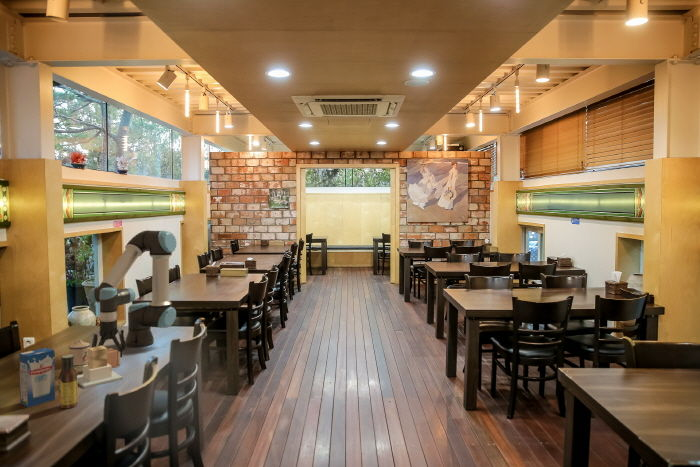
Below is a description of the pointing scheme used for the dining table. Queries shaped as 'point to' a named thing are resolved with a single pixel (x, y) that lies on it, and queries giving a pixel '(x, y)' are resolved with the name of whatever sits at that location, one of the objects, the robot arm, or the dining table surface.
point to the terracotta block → (112, 357)
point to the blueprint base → (89, 384)
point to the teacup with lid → (79, 352)
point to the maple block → (97, 357)
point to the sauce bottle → (68, 383)
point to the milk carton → (37, 377)
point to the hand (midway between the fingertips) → (108, 366)
